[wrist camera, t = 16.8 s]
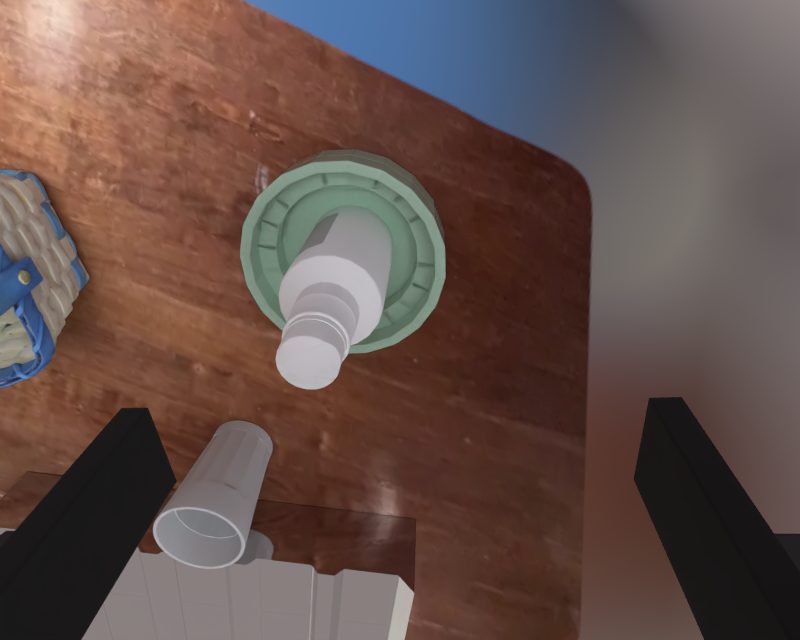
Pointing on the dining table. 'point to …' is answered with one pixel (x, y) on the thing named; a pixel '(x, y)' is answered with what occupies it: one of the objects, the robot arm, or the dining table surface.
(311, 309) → the white bottle
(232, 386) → the dining table surface
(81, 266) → the basket
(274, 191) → the bowl
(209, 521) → the cup
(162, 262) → the dining table surface
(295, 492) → the dining table surface
